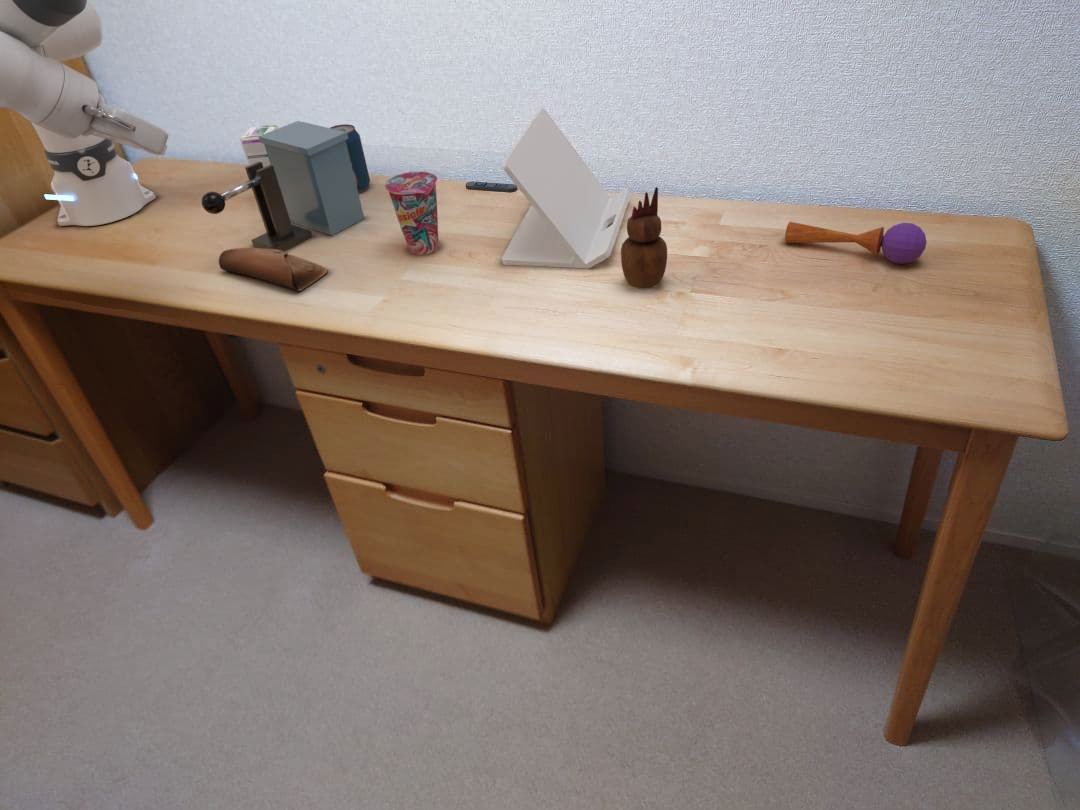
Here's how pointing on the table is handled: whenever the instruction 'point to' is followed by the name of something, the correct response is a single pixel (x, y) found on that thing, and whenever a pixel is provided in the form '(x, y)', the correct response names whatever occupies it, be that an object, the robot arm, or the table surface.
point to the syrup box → (256, 145)
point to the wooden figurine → (644, 246)
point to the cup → (416, 209)
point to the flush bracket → (274, 212)
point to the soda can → (356, 156)
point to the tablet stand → (560, 202)
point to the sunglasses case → (272, 266)
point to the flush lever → (225, 196)
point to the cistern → (314, 176)
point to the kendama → (867, 239)
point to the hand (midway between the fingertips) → (160, 149)
